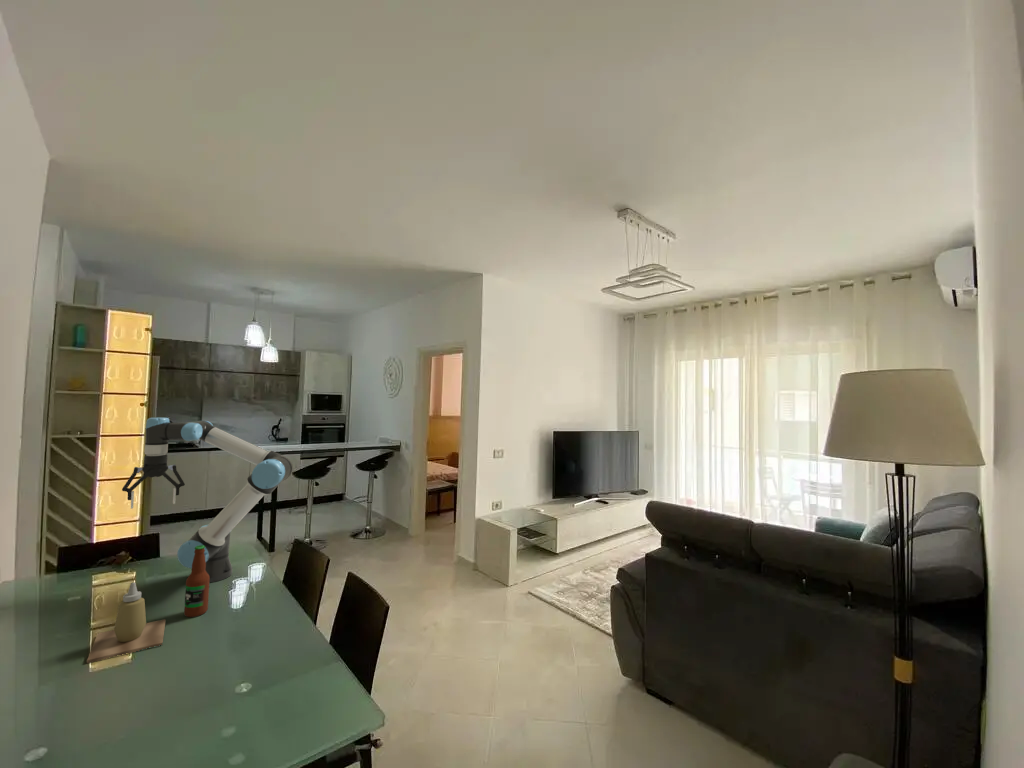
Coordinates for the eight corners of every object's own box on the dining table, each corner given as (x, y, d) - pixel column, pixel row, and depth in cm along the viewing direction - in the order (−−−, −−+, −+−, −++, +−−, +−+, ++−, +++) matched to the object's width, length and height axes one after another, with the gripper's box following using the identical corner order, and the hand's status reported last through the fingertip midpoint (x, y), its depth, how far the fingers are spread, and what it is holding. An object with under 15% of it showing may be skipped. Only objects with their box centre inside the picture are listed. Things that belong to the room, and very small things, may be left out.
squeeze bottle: (151, 632, 149) (155, 579, 150) (128, 645, 141) (132, 589, 142) (130, 630, 150) (133, 577, 151) (106, 643, 142) (110, 587, 143)
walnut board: (165, 621, 158) (165, 619, 158) (162, 645, 144) (162, 642, 144) (97, 636, 148) (97, 633, 148) (86, 663, 133) (87, 660, 133)
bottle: (179, 614, 164) (183, 547, 164) (201, 606, 170) (205, 541, 171) (190, 619, 160) (194, 551, 161) (211, 611, 167) (215, 545, 167)
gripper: (192, 451, 194) (189, 499, 193) (116, 455, 178) (113, 507, 177) (193, 453, 188) (191, 503, 188) (115, 457, 172) (112, 511, 171)
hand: (153, 505), depth 182 cm, fingers open, 13 cm apart
